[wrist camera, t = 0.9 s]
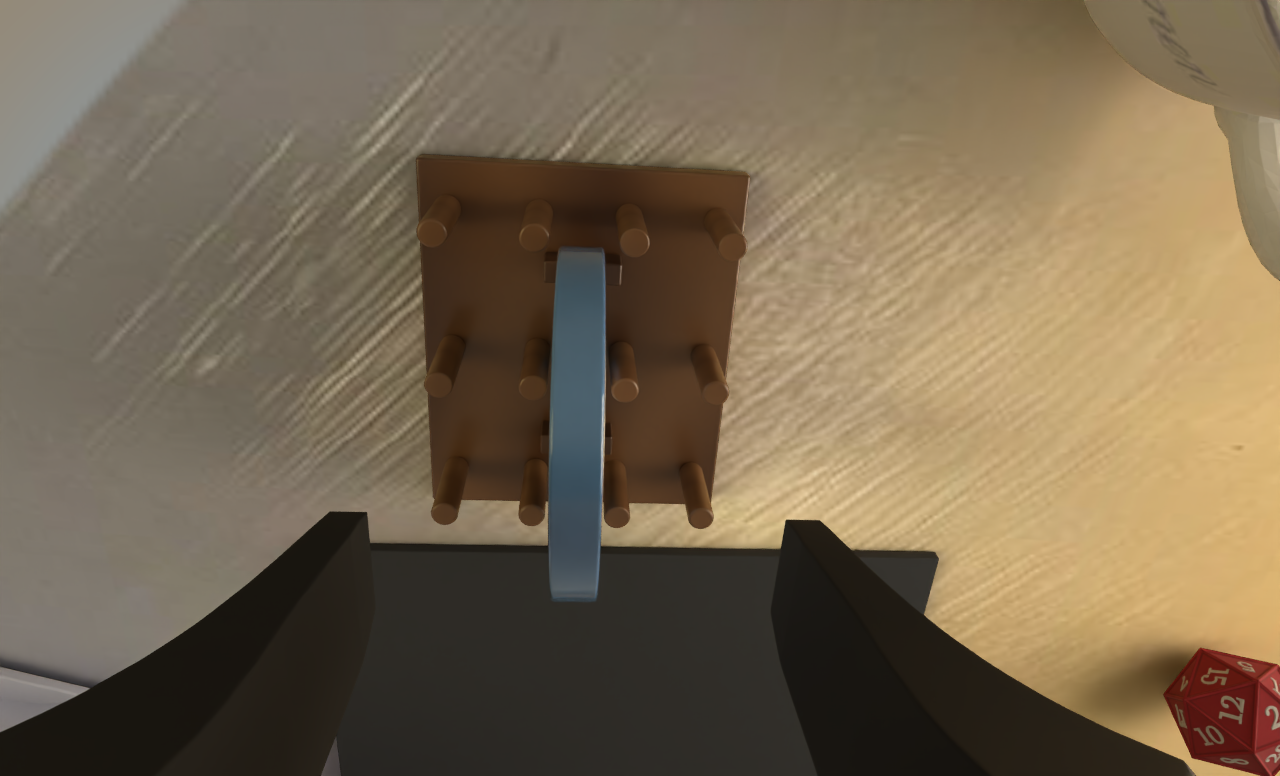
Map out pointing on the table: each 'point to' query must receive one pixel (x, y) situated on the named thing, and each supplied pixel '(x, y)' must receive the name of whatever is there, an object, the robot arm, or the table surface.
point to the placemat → (581, 665)
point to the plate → (577, 424)
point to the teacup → (1216, 85)
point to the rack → (523, 321)
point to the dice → (1229, 711)
